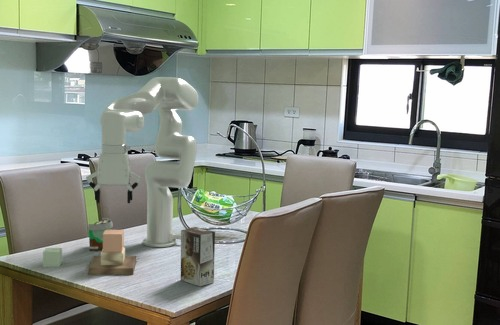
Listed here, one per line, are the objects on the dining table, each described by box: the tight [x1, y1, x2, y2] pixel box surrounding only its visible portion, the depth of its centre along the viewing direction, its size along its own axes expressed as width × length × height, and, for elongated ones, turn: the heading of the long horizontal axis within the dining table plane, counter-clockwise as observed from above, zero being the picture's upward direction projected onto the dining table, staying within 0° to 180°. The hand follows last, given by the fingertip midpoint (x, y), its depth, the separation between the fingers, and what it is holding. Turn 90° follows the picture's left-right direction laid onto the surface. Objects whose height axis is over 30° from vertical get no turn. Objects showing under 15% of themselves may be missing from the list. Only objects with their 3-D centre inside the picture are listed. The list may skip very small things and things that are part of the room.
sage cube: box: [42, 247, 63, 268], centre depth 199 cm, size 5×5×5 cm
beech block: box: [100, 246, 126, 265], centre depth 198 cm, size 7×7×4 cm
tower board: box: [87, 255, 137, 276], centre depth 198 cm, size 14×14×2 cm
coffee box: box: [180, 226, 216, 287], centre depth 186 cm, size 9×6×16 cm
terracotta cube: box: [103, 229, 125, 252], centre depth 197 cm, size 6×6×6 cm
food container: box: [87, 217, 114, 252], centre depth 220 cm, size 12×6×10 cm, turn 168°
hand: (113, 202), depth 196 cm, fingers open, 9 cm apart
